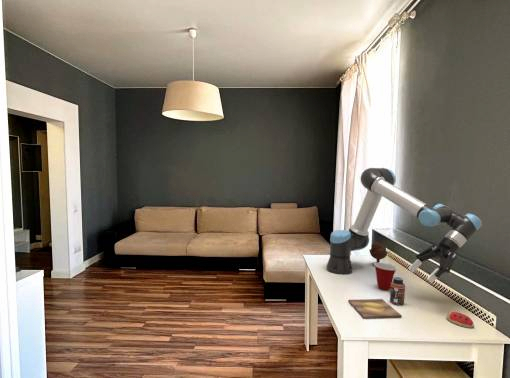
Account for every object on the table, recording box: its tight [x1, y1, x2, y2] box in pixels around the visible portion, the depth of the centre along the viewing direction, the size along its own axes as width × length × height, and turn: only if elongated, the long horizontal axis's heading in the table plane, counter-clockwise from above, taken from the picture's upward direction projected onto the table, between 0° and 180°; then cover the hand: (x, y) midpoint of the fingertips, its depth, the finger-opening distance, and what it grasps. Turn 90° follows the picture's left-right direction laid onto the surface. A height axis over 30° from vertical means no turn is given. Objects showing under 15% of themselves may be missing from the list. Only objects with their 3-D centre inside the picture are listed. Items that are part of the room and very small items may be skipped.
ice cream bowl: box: [368, 241, 389, 267], centre depth 194 cm, size 11×11×15 cm
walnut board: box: [347, 298, 403, 320], centre depth 132 cm, size 16×16×1 cm
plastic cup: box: [373, 262, 398, 291], centre depth 156 cm, size 11×11×12 cm
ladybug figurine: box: [445, 310, 475, 329], centre depth 121 cm, size 7×10×4 cm
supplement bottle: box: [389, 276, 406, 306], centre depth 138 cm, size 6×6×11 cm
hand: (419, 275), depth 138 cm, fingers open, 13 cm apart
